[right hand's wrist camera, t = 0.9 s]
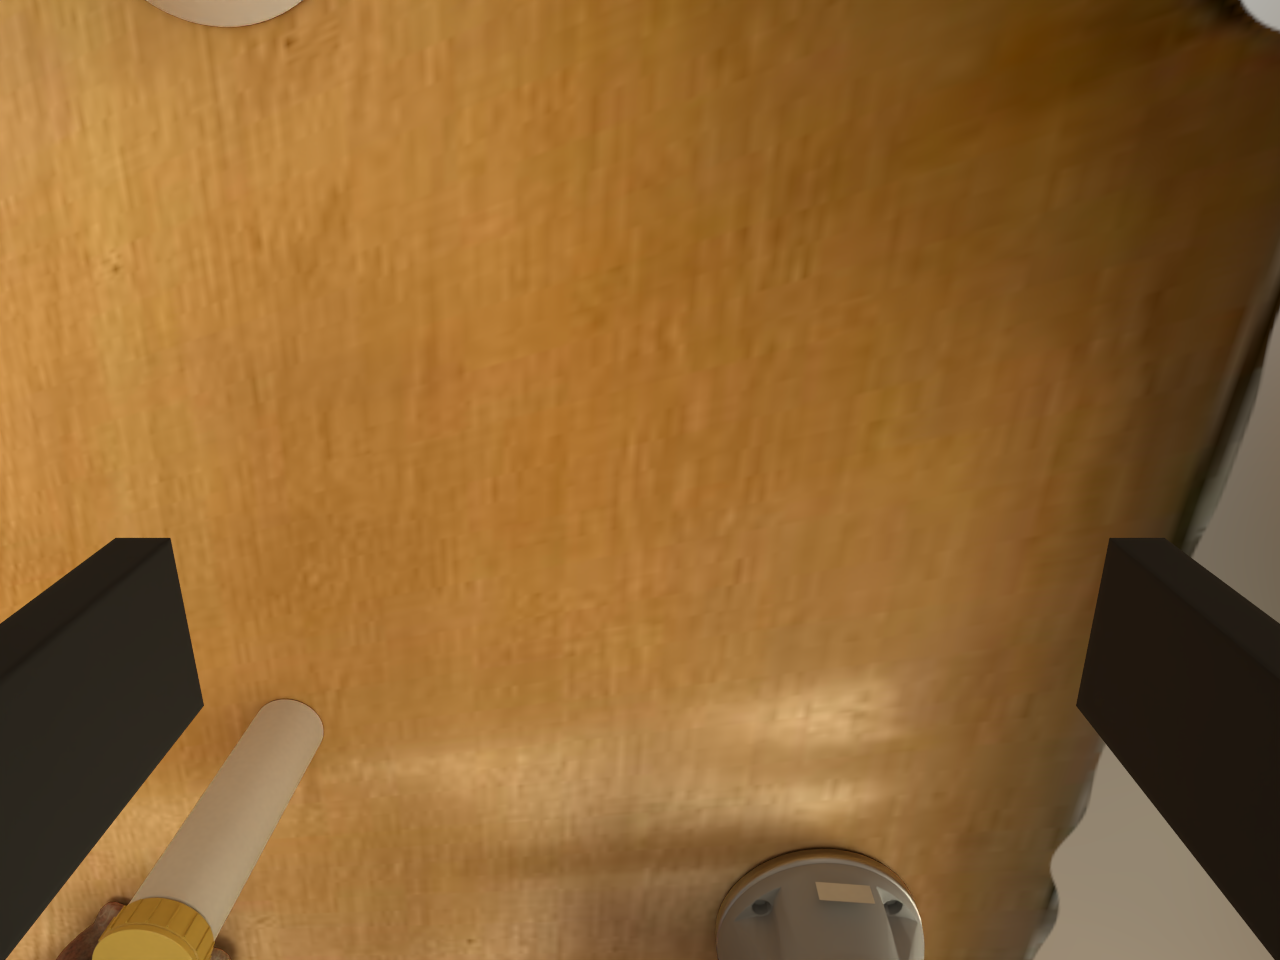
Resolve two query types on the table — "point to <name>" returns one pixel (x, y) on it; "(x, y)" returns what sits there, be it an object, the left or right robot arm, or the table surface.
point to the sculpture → (82, 947)
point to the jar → (237, 813)
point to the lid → (156, 933)
